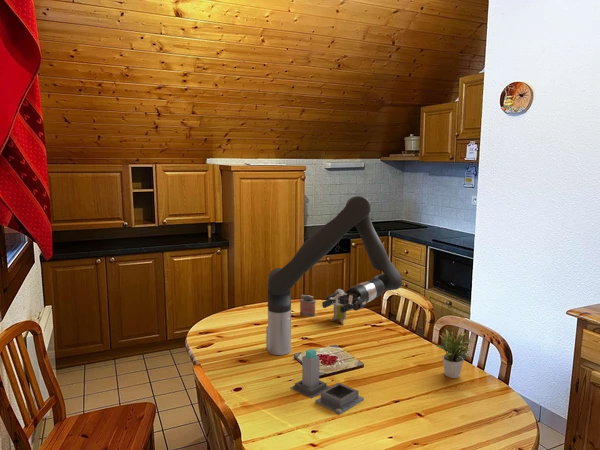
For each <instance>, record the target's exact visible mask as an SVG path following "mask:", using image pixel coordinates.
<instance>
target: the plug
mask: <svg viewBox="0 0 600 450" xmlns="http://www.w3.org/2000/svg"><path fill="white" fill-rule="evenodd" d="M301 360H302V362H301V363H302V366H301V368H302V370H301V371H302V372H301V373H302V374H301V376H302V385H303V386H305V387H308V388H310V389H312V388H314V387H316V386H318V385H319V380H320V356H319V355H317V350H315V349H313V348H309V349H307V350H305V354H304V355H303V356H302V359H301Z"/></svg>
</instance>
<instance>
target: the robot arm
mask: <svg viewBox="0 0 600 450" xmlns="http://www.w3.org/2000/svg"><path fill="white" fill-rule="evenodd" d="M371 209H372V207H371V203H370V201H369V200H368V198H366V197H364V196H362V195H356V196H355V195H354V196H352V197H350V198H348V200H347V202H346V204H345V206H344V207H343V208H342V210H341V211H340V212H339V213H338V214H336V216H335V217H334V218H332V220H330V221H329V222H327V223H325V224H324V225H323V226H321V227H319V229H317V230H316V231H315V232H314V233H313V234H312V235H310V236H309V238H307V239H306V240H305V241H304V243H302V245H301V246H300V247H299V249H298V250H297V252H296V253H295V255H294V256H293V257H292V258H291V260H290V261H289V262H288V263H286V264H285V265H284V266H282V267H278V268H274V269H272V270H271V271H270V273H269V274H268V276H267V326H266V328H265V329H266V330H265V332H266V333H265V334H266V337H265V339H266V340H265V342H266V348H265V349H266V350H267V351H268V352H267V353H269V354H271V355H274V356H283V355H288V354H290V353H291V352H292V297H291V296H292V295H291V294H292V293H291V291H292V290H291V289H292V288H293V287H294V286H295V285H296V284H297V282H298V281H299V280H300V278H301V277H302V276H304V274H305V273H307V272H308V271H309V270H310V269H312V268H313V267H314V266H315V265H316V264H317V263H318V262H320V260H322V259H323V258H324V257H325V256H326V255H327V254H329V252H330V251H332V250H333V248H334V247H335V246H336V245H337V244H338V243H340V241H341V240H342V239H343V238H344V236H345V235H346V234H347V233H348V232H349V231H351V229H353V228H354V227H355V228H356V230H357V231H358V234H359V235H360V236H359V237H360V238H361V241H362V244H363V247H364V248H365V252H366V254H367V256H368V259H369V261H370V264H371V266H372V268H373V270H377V271H381V272H382V273H379V274H377V275H376V276H374V277H372V279H371V278H370V279H368V280H366V281H364V282H363V281H362V282H360V283H358V284H355V285H353V286H351V287H349V288H348V289H346V292H345V294H342V295H339V293H338V292H337V293H335V292H334V293H331V294H329V295H326V300H324V301H322V303H321V304H322V305H321V306H322V308H323V309H326V308H328V307H330V306H334V305H335V304H336V305H343V306H341V307H340V312H341V313H344V312H346V313H347V312H348V311H352V310H354V312H355V311H359V310H360V309H362V308H364V307H365V306H367V305H366V304H367V303H369V302H372V301H373V300H374V299H376V298H378V297H380V296H381V295H383V294H384V293H385V292H388V291H396V290H399V289H400V288H401V287H402V284H403V278H402V276H401V274H400V272H399V271H398V269H397V268H396V266H395V265H394V264H393V263H392V261H391V260H390V259H389V256H388V253H387V251H386V249H385V247H384V244H383V243H382V241H381V239H380V237H379V235H378V233H377V232H376V230H375V227H374V225H373V222H372V220H371V216H370V213H371ZM339 299H340V303H338V300H339ZM334 301H335V302H334Z"/></svg>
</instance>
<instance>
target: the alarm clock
mask: <svg viewBox="0 0 600 450" xmlns="http://www.w3.org/2000/svg"><path fill="white" fill-rule="evenodd" d="M337 292H338V293H339V295H342V294H346V292H345V291H344V290H343V289H341V288H338V289H336V290H335V291H334V293H337ZM334 302H335V301H334ZM338 303H340V299H339V300H338ZM341 306H343V305H336V304H335V305H333V316H332V317H331V318H332V319H331V320H330V322H334V321H335V320H339V321H340V323H341V325H342V326H343V325H344V320H346V318H347V311H346V312H344V313H341V312H340V307H341Z"/></svg>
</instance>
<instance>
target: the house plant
mask: <svg viewBox="0 0 600 450" xmlns="http://www.w3.org/2000/svg"><path fill="white" fill-rule="evenodd" d="M437 335H438V336H439V337H440V339H441V341H442V342H443V344H444V346H443V345H440V344H438V345H435V347H437V348H440V349H441V350H443V351H444V352H445V354H443V355H442V363H443V371H444V375H445V376H446V377H448V378H452V379H458V378H460V375H461V371H462V368H463V363H464V358H463V355H465V356H467V357H468V358H470V356H469V354H468V353H467V352H471V350H469V349H472V347H467V346H465V345H466V344H471V343H472V344H473V343H474V341H473V340H475V338H471V339H467V340H465V341H463V339H464V336H465V335H466V332H465V333H463V331H460V333H459V334H458V336H457V337H456V339H455V337H454V332H453V331H451V334H450V332H449V331H448V330H447V329H445V335H446V338H444V337H443V336H442V335H440V334H437ZM462 341H463V342H462Z"/></svg>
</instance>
